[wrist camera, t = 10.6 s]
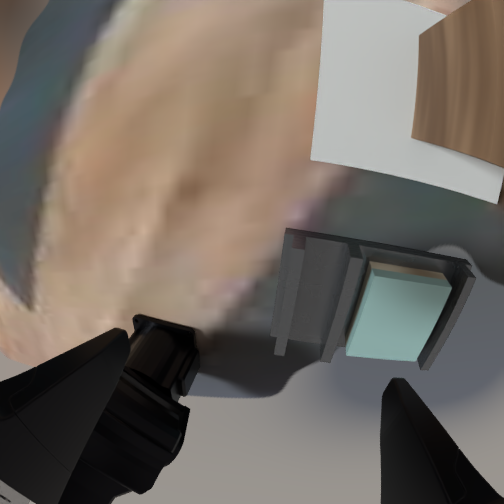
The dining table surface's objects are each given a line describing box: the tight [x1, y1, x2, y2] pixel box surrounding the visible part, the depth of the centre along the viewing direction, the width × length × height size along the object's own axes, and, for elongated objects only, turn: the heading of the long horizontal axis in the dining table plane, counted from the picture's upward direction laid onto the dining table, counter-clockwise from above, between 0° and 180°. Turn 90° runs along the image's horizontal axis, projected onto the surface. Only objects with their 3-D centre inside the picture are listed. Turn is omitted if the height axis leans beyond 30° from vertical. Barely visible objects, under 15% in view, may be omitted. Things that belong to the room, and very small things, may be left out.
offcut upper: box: [346, 268, 452, 361], centre depth 19 cm, size 6×7×1 cm
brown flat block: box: [411, 0, 504, 168], centre depth 9 cm, size 2×7×9 cm, turn 176°
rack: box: [270, 228, 476, 370], centre depth 20 cm, size 14×9×3 cm, turn 86°
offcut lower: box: [345, 261, 447, 345], centre depth 20 cm, size 6×7×1 cm
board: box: [310, 0, 504, 204], centre depth 14 cm, size 14×12×1 cm
